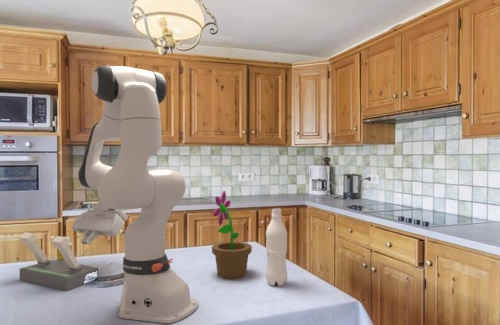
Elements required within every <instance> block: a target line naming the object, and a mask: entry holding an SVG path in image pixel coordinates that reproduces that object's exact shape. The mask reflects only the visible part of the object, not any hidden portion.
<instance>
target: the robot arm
mask: <svg viewBox="0 0 500 325" xmlns="http://www.w3.org/2000/svg"><path fill="white" fill-rule="evenodd" d="M91 88H92V90H93V93H94V96H95V97H96V98H97V99H98V100H100V101H104V102H103V108H102V116H101V119H100V121H97V122H95V124H94V125H93V126H92V128H91V130H90V133H89V137H88V140H87V143H86V146H85V147H86V148H85V152H84V156H83V159H82V163H81V165H80V167H79V170H78V171H77V177H78V181H79V183H80V185H81V186H82V187H84V188H89V189H92V190H93V189H94V190H97V196H98V198H99V200H98V202H97V203H96V204H95V206H94V207H93V208H92V209H88V210H86V211H83V212H81V214H80V215H78V216H77V218H76V219H75V220H74V221H73V223H72V224H71V229H72V230H73V231H74V232H76V233H81V234H83V235H82V238H81V240H80V243H81V244H82V245H88V246H89V245H91V244H92V242H93V241H95V240H96V239H97V238H98V237H99V236H105V237H114V238H115V237H116V236H118V235H119V234H120V232H121V230H122V229H123V227H124V225H125V222H126V221H128V219H129V216H128V214H126V213H125V212H124V211H128V210H134V209H135V210H137V209H141V210H140V213H139V214H138V216H137V217H136V219H134V221H132V222H131V223H130V224H128V225H127V227H126V229H125V231H124V256H123V258H122V259H123V260H122V270H123V273H124V275H123V284H122V291H121V298H120V302H119V306H118V310H119V313H118V317H119V318H120V319H127V320H135V321H145V322H151V323H152V322H153V323H158V324H159V323H161V324H172V323H177V322H179V321H181V320H183V319H185V318H187V317H189V316H190V315H191V314H192V313H195V311H196V310H197V309H198V307H199V301H198V300H197V299H193V298H191V294H190V292H191V291H190V288H189V286H188V284H187V283H186V282H185V281H184V280H183V279H182V278H181V277H180V276H179V275H178V274H177V273H176V272H175V271H174V270H172V268H171V265H170V264H171V263H174V262H173V260H174V258H169V259H168V256H167V254H166V230H167V225H168V221H169V218H170V215H171V214H172V211H173V210H174V208H175V206H176V205H177V204H178V203H179V202H180V201H181V200H182V199H183V197H184V195H185V193H186V181H185V178H184V176H183V175H182V174H181V173H180V172H179V171H176V170H172V169H168V168H148V167H147V166H148V162H149V160H150V158H151V157H152V156H154V155H156V153H158V152H159V151H160V150H161V148H162V146H163V136H162V122H161V120H162V118H161V109H160V105H159V104H161V103H163V101H164V100H165V99H166V96H167V88H168V86H167V81H166V78H165V77H164V75H163V74H162V73H159V72H157V71H152V70H151V71H149V70H145V69H141V68H133V67H132V66H111V65H99V66H98V67H96V68H95V69H94V71H93V74H92V77H91ZM120 140H121V141H120ZM111 141H113V142H114V141H120V151H119V155H118V157H117V159H116V161H115V163H114V164H113V166H110V165H107V164H105V163H103V162H101V160H100V158H101V154H102V151H103V147H104V143H105V142H111Z"/></svg>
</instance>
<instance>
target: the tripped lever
mask: <svg viewBox="0 0 500 325" xmlns="http://www.w3.org/2000/svg"><path fill="white" fill-rule="evenodd" d="M67 237H68V236H59V235H56V236H55V237H54V238H53V239H51V241H50V243H51V245H52V246H53V247H54V248H55V249H57V248H58V250H59V252H60V253H61V255H62V257H63V258H64V260H65V262H66V264H67V265H68V269H70V270H76V271H80V270H81V269H82V266H80V265H81V264H80V263H79V261H78V260H77V258H76V256H75V254H74V252H73V250H72V251H71V249H70V247H69V244H70V243H69V242H70V241H68V239H67Z"/></svg>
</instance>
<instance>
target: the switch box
mask: <svg viewBox="0 0 500 325" xmlns="http://www.w3.org/2000/svg"><path fill="white" fill-rule="evenodd" d="M49 260H50V264H49V265H44V264H39V263H36V264H35V263H34V264H31V265H28V266H25V267H21V268H19V281H23V282H26V283H31V284H36V285H39V286H45V287H48V288H53V289H57V290H61V291H66V292H69V291H71V290H73V289H74V290H75V289H76V288H79V287H81V286H84V285H85V284H84V281H85V276H86V275H87V274H89V273H92V272H96V271H98V272H99V268H98V267H95V266H90V265H84V264H79V265H80V266H82V269H81V270H80V271H76V270H70V269H68V265H67V264H66V262H63V261H57V259H56V260H55V259H49ZM83 284H84V285H83Z"/></svg>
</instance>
